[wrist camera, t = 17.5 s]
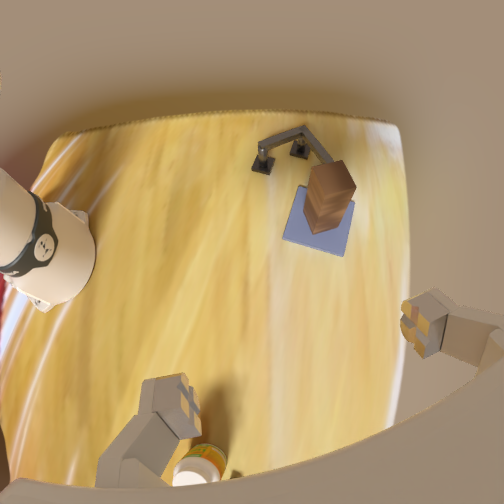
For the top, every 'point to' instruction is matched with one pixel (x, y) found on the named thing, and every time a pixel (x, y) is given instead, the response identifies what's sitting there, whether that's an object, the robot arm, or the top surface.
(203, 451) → the supplement bottle
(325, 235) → the pad
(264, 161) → the bent rail on posts
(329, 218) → the walnut peg
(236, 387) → the top surface
